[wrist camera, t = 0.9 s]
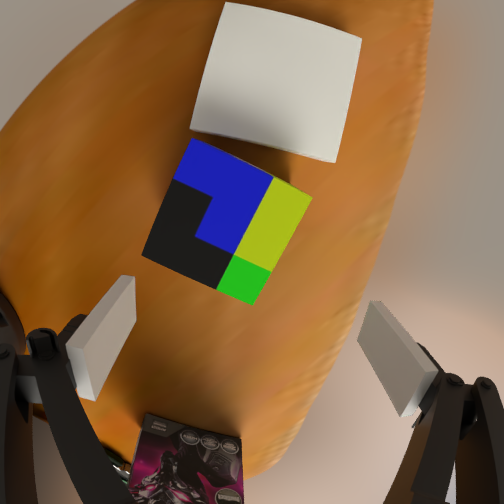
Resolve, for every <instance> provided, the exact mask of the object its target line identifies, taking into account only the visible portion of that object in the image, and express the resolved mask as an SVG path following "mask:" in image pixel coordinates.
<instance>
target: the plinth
mask: <svg viewBox="0 0 504 504" xmlns="http://www.w3.org/2000/svg"><path fill="white" fill-rule="evenodd" d="M361 42H362V38H359V37H357V36H354V35H351V34H349V33H346V32H343V31H341V30H338V29H335V28H332V27H329V26H326V25H323V24H320V23H317V22H314V21H310V20H307V19H303V18H300V17H296V16H293V15H289V14H285V13H281V12H276V11H272V10H268V9H263V8H258V7H253V6H248V5H242V4H236V3H229V2H226V3H225V5H224V8H223V11H222V14H221V17H220V20H219V23H218V26H217V30H216V33H215V36H214V39H213V42H212V46H211V49H210V52H209V56H208V59H207V63H206V66H205V70H204V73H203V77H202V81H201V85H200V88H199V92H198V96H197V100H196V104H195V108H194V112H193V116H192V120H191V125H190V129H191V130H193V131H195V132H200V133H206V134H211V135H217V136H222V137H227V138H231V139H236V140H241V141H246V142H250V143H254V144H259V145H263V146H267V147H271V148H276V149H280V150H284V151H287V152H291V153H295V154H299V155H303V156H306V157H310V158H313V159H317V160H320V161H324V162H332V163H335V162H336V158H337V154H338V150H339V146H340V141H341V137H342V133H343V129H344V124H345V120H346V116H347V111H348V107H349V102H350V97H351V93H352V88H353V83H354V78H355V73H356V68H357V63H358V58H359V53H360V47H361Z"/></svg>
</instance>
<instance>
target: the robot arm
mask: <svg viewBox="0 0 504 504" xmlns="http://www.w3.org/2000/svg"><path fill="white" fill-rule="evenodd" d="M135 322H136V300H135V277H134V276H127V275H121V276H120V278H119V279H118V280H117V281H116V282H115V283H114V285H113V286H112V287H111V288H110V289H109V290H108V292H107V293H106V294H105V295H104V296H103V298H102V299H101V300H100V301H99V303H98V304H97V305H96V306H95V307H94V309H93V310H92V311H91V312H90V314H89V315H83V314H79V315H77V316H76V317H74V318H72V319H71V320H70V322H69V323H68V324H67V326H65V327H64V329H63V331H61V332H60V333H59V335H58V336H57V334H56V333H55V331H53V330H51V329H48V328H38V329H35V330H33V331H31V332H30V333H29V334H28V335H27V336H26V340H25V335H24V331H23V328H22V325H21V323H20V321H19V318H18V317H17V315H16V313H15V311H14V310H13V308H12V306H11V305H10V304H9V302H8V301H7V300H6V298H5V297H4V296H3V295H2V294H1V293H0V504H38V500H37V492H36V484H35V475H34V462H33V440H32V412H33V403H42V404H43V407H44V410H45V413H46V417H47V420H48V423H49V426H50V428H51V431H52V434H53V437H54V440H55V442H56V445H57V447H58V450H59V453H60V455H61V457H62V460H63V462H64V464H65V467H66V469H67V471H68V473H69V475H70V478H71V480H72V482H73V484H74V486H75V488H76V490H77V492H78V494H79V496H80V498H81V500H82V502H83V504H139V503H138V502H137V501H136V500H135V499H134V497H133V496H132V494H131V493H130V491H129V490H128V488H127V487H126V485H125V484H124V482H123V481H122V479H121V477H120V476H119V474H118V473H117V471H116V469H115V468H114V466H113V464H112V463H111V461H110V459H109V457H108V456H107V454H106V452H105V450H104V449H103V447H102V445H101V443H100V441H99V439H98V437H97V436H96V434H95V432H94V430H93V428H92V426H91V424H90V422H89V420H88V417H87V415H86V413H85V411H84V409H83V407H82V405H81V402H80V400H79V398H78V395H77V393H76V391H75V389H76V387H77V391H78V394H79V397H82V398H85V399H89V400H93V401H96V399H97V397H98V395H99V393H100V391H101V389H102V386H103V384H104V382H105V380H106V378H107V376H108V374H109V372H110V370H111V368H112V366H113V364H114V362H115V360H116V358H117V356H118V354H119V353H120V351H121V349H122V347H123V345H124V343H125V341H126V339H127V337H128V335H129V333H130V332H131V330H132V328H133V326H134V324H135ZM357 341H358V343H359V344H360V346H361V348H362V350H363V351H364V353H365V355H366V357H367V358H368V360H369V362H370V363H371V365H372V367H373V369H374V371H375V372H376V374H377V376H378V378H379V380H380V381H381V383H382V385H383V387H384V389H385V390H386V392H387V394H388V396H389V397H390V400H391V401H392V403H393V405H394V407H395V409H396V411H397V413H398V414H399V416H400V417H405V416H411V415H413V414H414V412H415V411H416V409H417V408H418V406H419V407H420V409H421V410H422V412H421V413H420V415H419V417H418V418H417V419H416V421H415V423H414V424H413V426H412V428H414V426H415V428H414V431H413V434H412V437H411V440H410V442H409V445H408V448H407V451H406V454H405V456H404V458H403V461H402V463H401V465H400V468H399V471H398V473H397V475H396V477H395V480H394V482H393V484H392V486H391V488H390V491H389V492H388V494H387V496H386V499H385V501H384V503H383V504H450V503H448V502H445V498H446V494H447V491H448V487H449V483H450V479H451V475H452V471H453V466H454V462H455V470H456V504H504V408H503V405H502V402H501V399H500V396H499V393H498V391H497V388H496V386H495V384H494V383H493V382H492V380H491V379H489V378H486V377H478V378H477V379H476V381H475V383H474V384H473V385H469V384H465V383H464V381H463V380H462V379H461V378H460V377H459V376H457V375H455V374H452V373H445V372H444V370H443V369H442V368H441V367H440V365H439V364H438V363H437V362H436V360H434V358H433V357H432V356H431V355H430V353H429V352H428V351H427V350H426V348H425V347H423V346H422V345H420V344H419V343H416V342H415V341H414V339H413V338H412V337H411V336H410V335H409V333H408V332H407V331H406V330H405V329H404V327H403V326H402V325H401V324H400V323H399V322H398V321H397V319H396V318H395V317H394V316H393V314H392V313H391V312H390V311H389V310H388V309H387V307H386V306H385V305H384V304H383V303H382V302H381V301H370V303H369V306H368V309H367V312H366V315H365V318H364V322H363V324H362V327H361V331H360V333H359V336H358V340H357ZM26 343H27V346H28V350H29V353H30V355H23V354H24V352H25V349H26ZM476 419H477V421H476Z"/></svg>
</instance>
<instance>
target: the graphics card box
mask: <svg viewBox="0 0 504 504" xmlns="http://www.w3.org/2000/svg"><path fill="white" fill-rule="evenodd" d="M127 488H128V490H129V491H130V493H131V494H132V496H133V497H134V499H135V500H136V501H137V502H138V503H139V504H244V493H243V492H244V490H243V466H242V442H241V439H239V438H234V437H230V436H225V435H220V434H217V433H212V432H208V431H204V430H200V429H196V428H192V427H189V426H186V425H182V424H179V423H176V422H172V421H169V420H166V419H162V418H159V417H156V416H153V415H150V414H146V415H145V418H144V420H143V424H142V427H141V430H140V433H139V437H138V441H137V444H136V448H135V452H134V456H133V460H132V465H131V469H130V473H129V477H128V481H127Z"/></svg>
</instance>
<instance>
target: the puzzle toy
mask: <svg viewBox="0 0 504 504" xmlns="http://www.w3.org/2000/svg"><path fill="white" fill-rule="evenodd" d="M311 200H312V197H311V196H309V195H308V194H306V193H304V192H303V191H301V190H299V189H298V188H296V187H294V186H293V185H291V184H289V183H287V182H285V181H284V180H282V179H280V178H278V177H276V176H274V175H272V174H270V173H268V172H266V171H264V170H262V169H260V168H258V167H256V166H254V165H252V164H250V163H248V162H246V161H244V160H242V159H240V158H238V157H236V156H234V155H232V154H230V153H227V152H225V151H223V150H221V149H219V148H217V147H215V146H212V145H210V144H208V143H206V142H203V141H200V140H197V139H194V138H192V139H191V141H190V143H189V145H188V147H187V149H186V151H185V153H184V155H183V158H182V160H181V162H180V164H179V166H178V168H177V170H176V173H175V175H174V177H173V179H172V181H171V184H170V186H169V188H168V190H167V193H166V195H165V197H164V200H163V202H162V204H161V207H160V209H159V212H158V214H157V216H156V219H155V221H154V224H153V226H152V229H151V231H150V234H149V236H148V239H147V242H146V244H145V247H144V249H143V252H142V256H144V257H146V258H148V259H150V260H152V261H154V262H156V263H158V264H161V265H163V266H165V267H167V268H169V269H171V270H173V271H176V272H178V273H180V274H182V275H184V276H187V277H189V278H191V279H193V280H195V281H198V282H200V283H202V284H204V285H207V286H209V287H211V288H213V289H216V290H218V291H220V292H222V293H225V294H227V295H229V296H232V297H234V298H236V299H239V300H241V301H243V302H246V303H248V304H250V305H253V304H254V302H255V300H256V299H257V297H258V295H259V293H260V292H261V290H262V288H263V286H264V285H265V283H266V281H267V279H268V278H269V276H270V274H271V272H272V270H273V269H274V267H275V265H276V263H277V262H278V260H279V258H280V256H281V254H282V253H283V251H284V249H285V247H286V245H287V244H288V242H289V240H290V238H291V236H292V235H293V233H294V231H295V229H296V227H297V225H298V224H299V222H300V220H301V218H302V216H303V214H304V213H305V211H306V209H307V207H308V205H309V203H310V202H311Z"/></svg>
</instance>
